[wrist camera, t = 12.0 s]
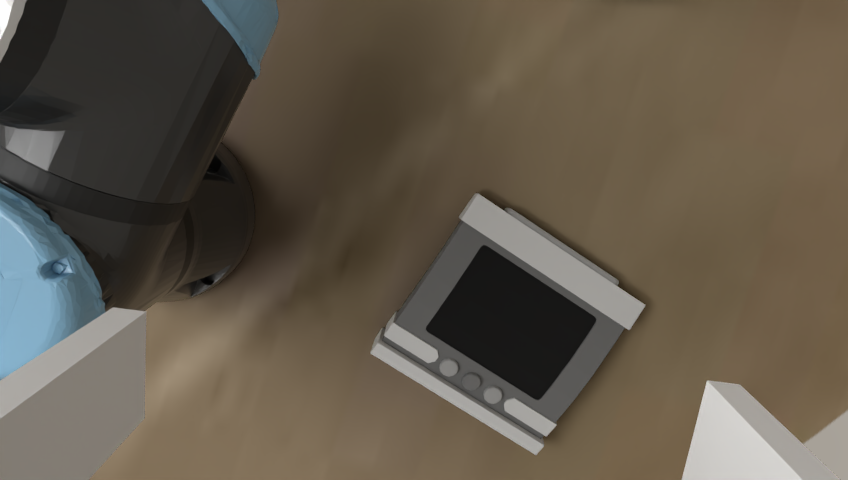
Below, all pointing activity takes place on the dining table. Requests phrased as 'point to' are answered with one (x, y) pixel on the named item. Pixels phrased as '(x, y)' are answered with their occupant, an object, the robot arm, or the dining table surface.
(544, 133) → the dining table surface
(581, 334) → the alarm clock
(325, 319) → the dining table surface
